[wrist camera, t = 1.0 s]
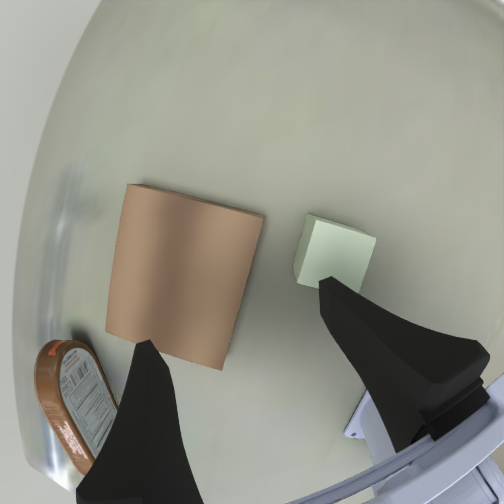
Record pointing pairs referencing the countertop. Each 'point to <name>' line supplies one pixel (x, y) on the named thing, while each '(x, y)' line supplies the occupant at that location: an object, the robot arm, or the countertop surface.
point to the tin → (74, 399)
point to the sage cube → (332, 253)
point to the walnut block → (180, 273)
